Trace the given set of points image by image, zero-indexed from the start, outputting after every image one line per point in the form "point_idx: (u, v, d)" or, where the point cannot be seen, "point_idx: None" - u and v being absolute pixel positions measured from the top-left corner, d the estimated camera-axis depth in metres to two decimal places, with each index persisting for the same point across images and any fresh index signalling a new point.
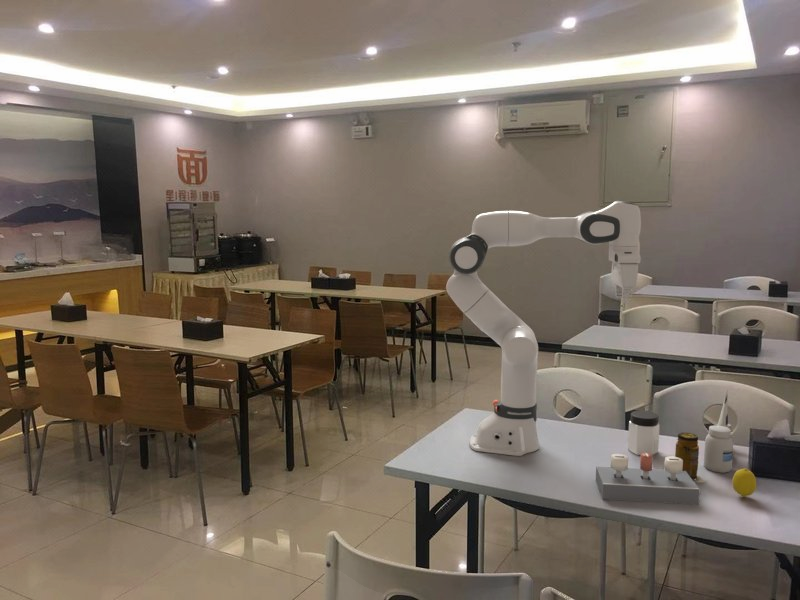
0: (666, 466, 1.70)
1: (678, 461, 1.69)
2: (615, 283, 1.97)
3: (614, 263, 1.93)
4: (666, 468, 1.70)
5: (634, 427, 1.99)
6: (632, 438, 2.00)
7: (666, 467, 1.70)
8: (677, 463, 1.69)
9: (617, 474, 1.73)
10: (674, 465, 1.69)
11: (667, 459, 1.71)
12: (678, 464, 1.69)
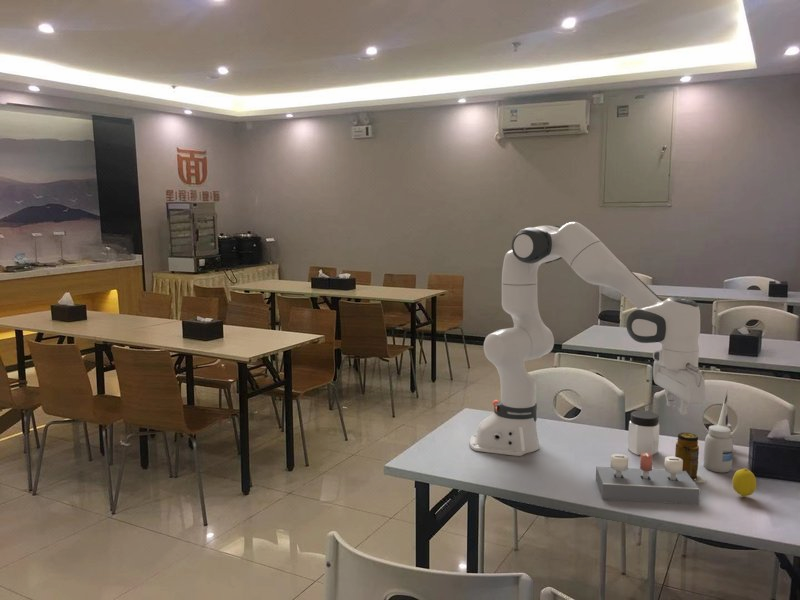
0: (666, 466, 1.70)
1: (678, 461, 1.69)
2: None
3: None
4: (666, 468, 1.70)
5: (634, 427, 1.99)
6: (632, 438, 2.00)
7: (666, 467, 1.70)
8: (677, 463, 1.69)
9: (617, 474, 1.73)
10: (674, 465, 1.69)
11: (667, 459, 1.71)
12: (678, 464, 1.69)
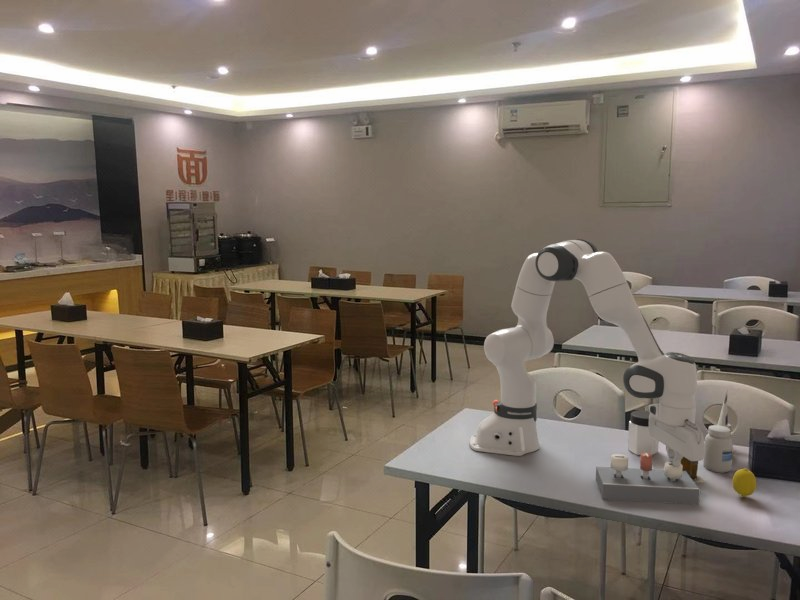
0: (666, 471, 1.70)
1: (678, 466, 1.70)
2: None
3: None
4: (666, 473, 1.71)
5: (634, 427, 1.99)
6: (632, 438, 2.00)
7: (666, 472, 1.71)
8: (677, 468, 1.69)
9: (617, 474, 1.73)
10: (674, 471, 1.69)
11: (667, 464, 1.71)
12: (678, 469, 1.69)
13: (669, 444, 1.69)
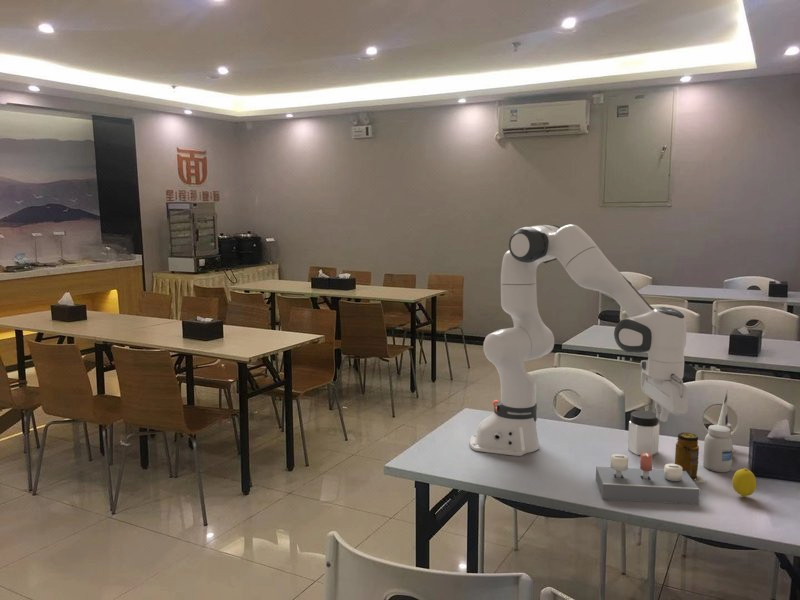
0: (666, 473, 1.71)
1: (678, 468, 1.70)
2: None
3: None
4: (666, 475, 1.71)
5: (634, 427, 1.99)
6: (632, 438, 2.00)
7: (666, 474, 1.71)
8: (677, 470, 1.69)
9: (617, 474, 1.73)
10: (674, 473, 1.69)
11: (667, 466, 1.71)
12: (678, 471, 1.69)
13: (656, 399, 1.69)
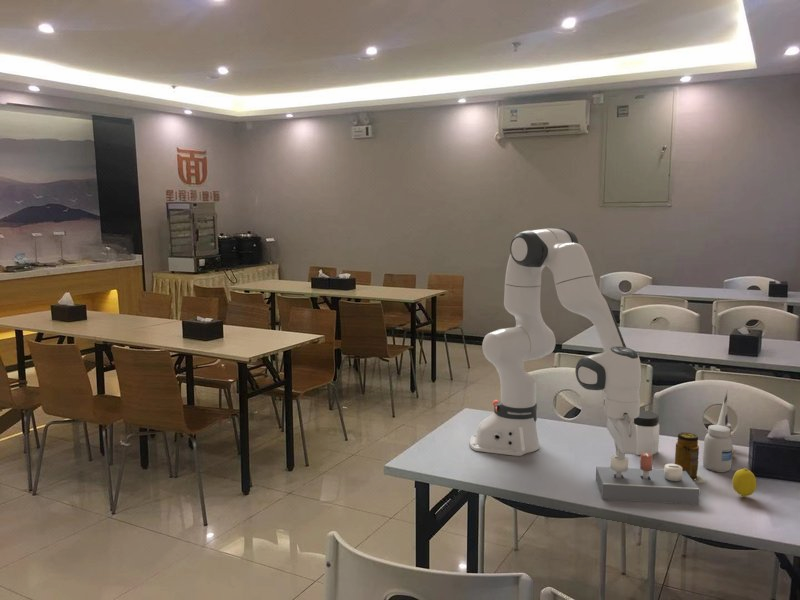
0: (666, 473, 1.71)
1: (678, 468, 1.70)
2: None
3: None
4: (666, 475, 1.71)
5: None
6: None
7: (666, 474, 1.71)
8: (677, 470, 1.69)
9: (617, 475, 1.73)
10: (674, 473, 1.69)
11: (667, 466, 1.71)
12: (678, 471, 1.69)
13: (614, 437, 1.72)
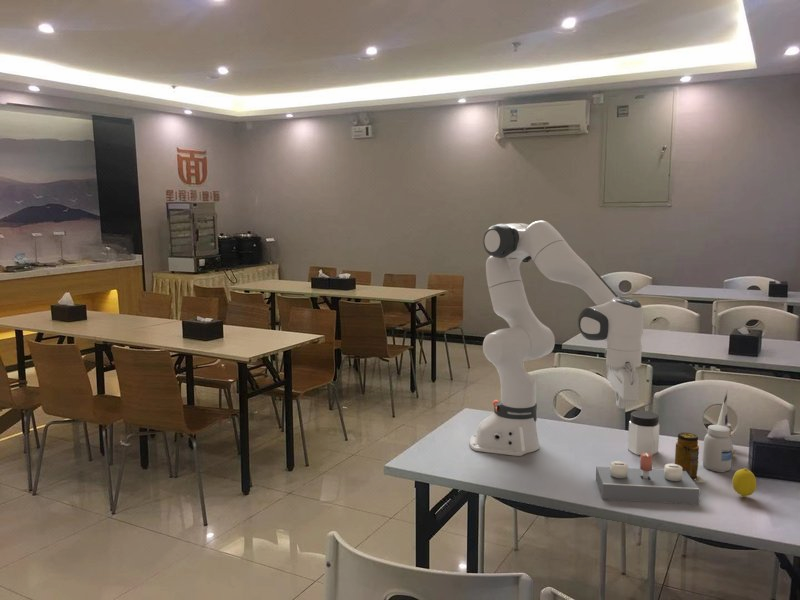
0: (666, 473, 1.71)
1: (678, 468, 1.70)
2: None
3: None
4: (666, 475, 1.71)
5: (634, 427, 1.99)
6: (632, 438, 2.00)
7: (666, 474, 1.71)
8: (677, 470, 1.69)
9: None
10: (674, 473, 1.69)
11: (667, 466, 1.71)
12: (678, 471, 1.69)
13: (615, 386, 1.73)
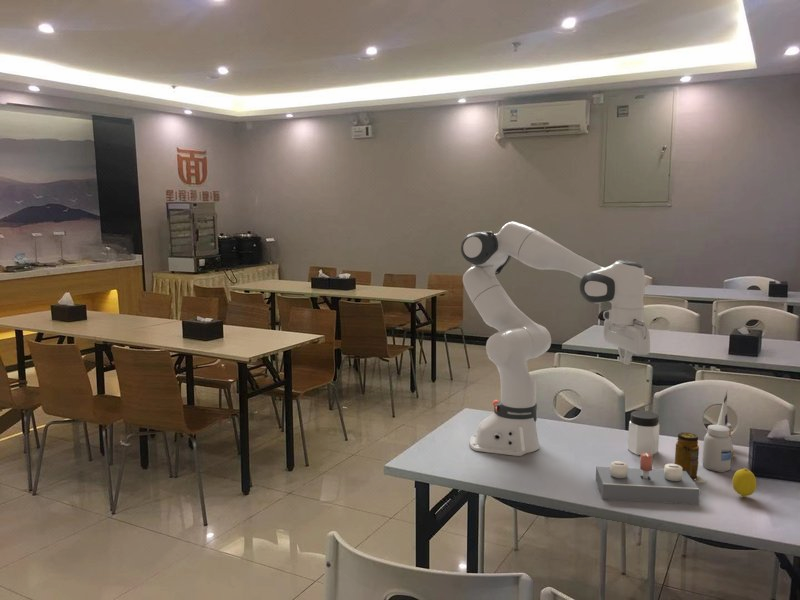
0: (666, 473, 1.71)
1: (678, 468, 1.70)
2: None
3: None
4: (666, 475, 1.71)
5: (634, 427, 1.99)
6: (632, 438, 2.00)
7: (666, 474, 1.71)
8: (677, 470, 1.69)
9: None
10: (674, 473, 1.69)
11: (667, 466, 1.71)
12: (678, 471, 1.69)
13: (620, 344, 1.85)
